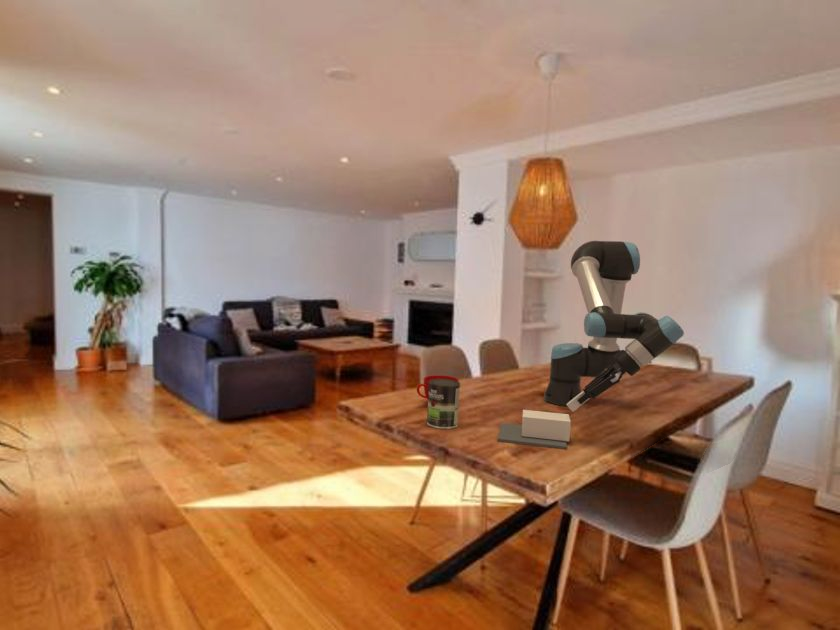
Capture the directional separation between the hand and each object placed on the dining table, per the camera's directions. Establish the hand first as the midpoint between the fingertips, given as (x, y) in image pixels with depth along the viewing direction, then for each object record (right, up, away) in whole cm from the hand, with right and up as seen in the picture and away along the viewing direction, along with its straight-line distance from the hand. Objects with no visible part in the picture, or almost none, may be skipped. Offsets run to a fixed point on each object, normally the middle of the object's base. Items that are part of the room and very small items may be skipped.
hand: (569, 407), depth 148 cm
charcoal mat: (-11, -10, +3) cm, 15 cm away
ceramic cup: (-40, -6, +33) cm, 52 cm away
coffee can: (-38, -8, +12) cm, 41 cm away
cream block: (0, -6, 0) cm, 6 cm away
